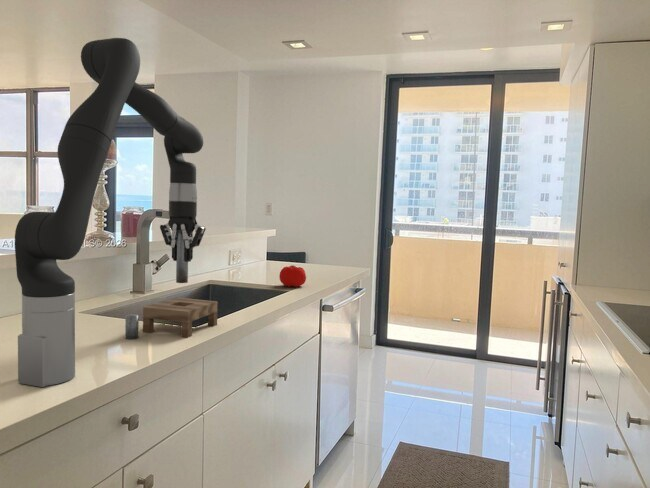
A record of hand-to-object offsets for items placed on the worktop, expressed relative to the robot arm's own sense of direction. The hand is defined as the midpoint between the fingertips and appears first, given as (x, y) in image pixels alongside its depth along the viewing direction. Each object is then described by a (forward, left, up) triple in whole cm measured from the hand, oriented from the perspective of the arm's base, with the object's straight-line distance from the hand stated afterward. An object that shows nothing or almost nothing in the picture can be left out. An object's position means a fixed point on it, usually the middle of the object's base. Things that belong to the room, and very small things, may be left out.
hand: (182, 260), depth 144 cm
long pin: (0, 0, -6) cm, 6 cm away
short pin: (-14, +6, -19) cm, 25 cm away
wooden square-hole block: (0, 0, -19) cm, 19 cm away
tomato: (+86, -2, -20) cm, 88 cm away
